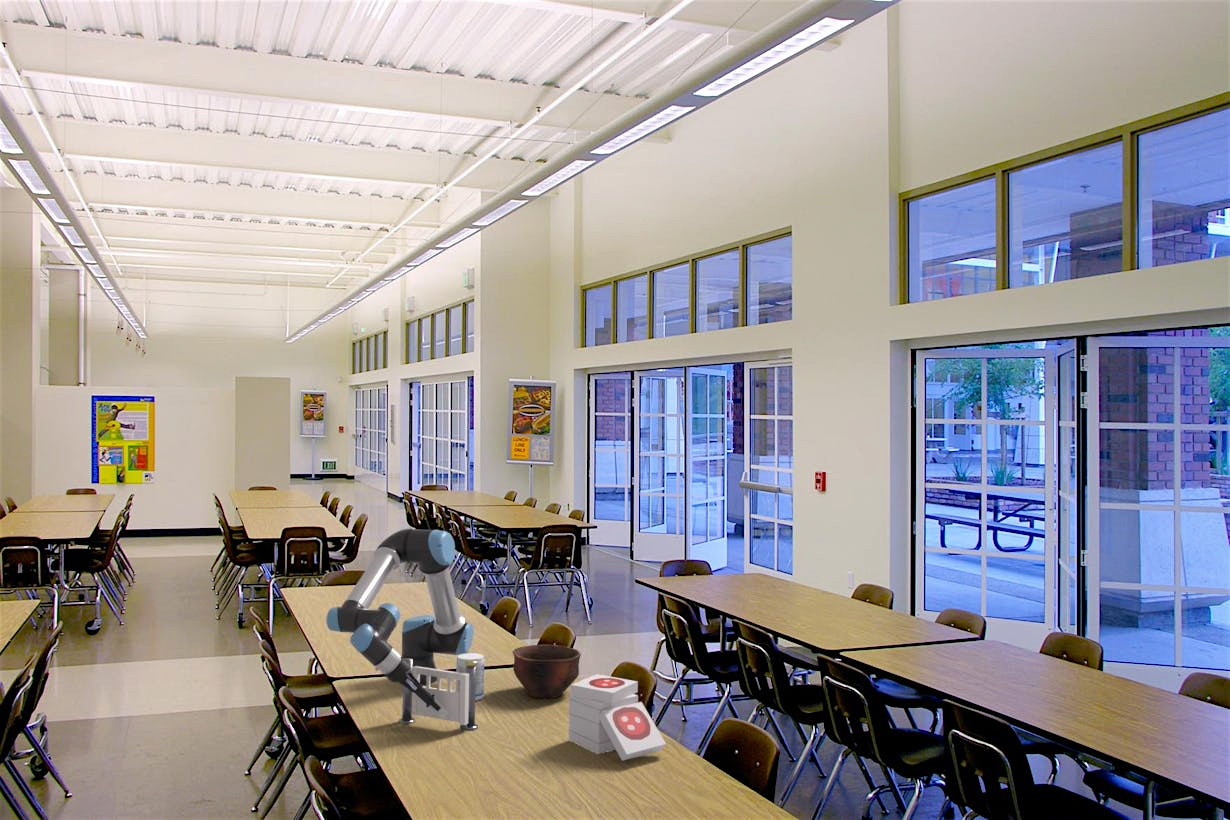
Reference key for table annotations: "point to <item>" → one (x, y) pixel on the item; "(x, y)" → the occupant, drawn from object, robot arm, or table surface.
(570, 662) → the bowl
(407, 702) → the hinge post
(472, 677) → the latch post
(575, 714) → the pizza boxes
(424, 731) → the table surface
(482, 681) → the supplement tub
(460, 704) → the gate
